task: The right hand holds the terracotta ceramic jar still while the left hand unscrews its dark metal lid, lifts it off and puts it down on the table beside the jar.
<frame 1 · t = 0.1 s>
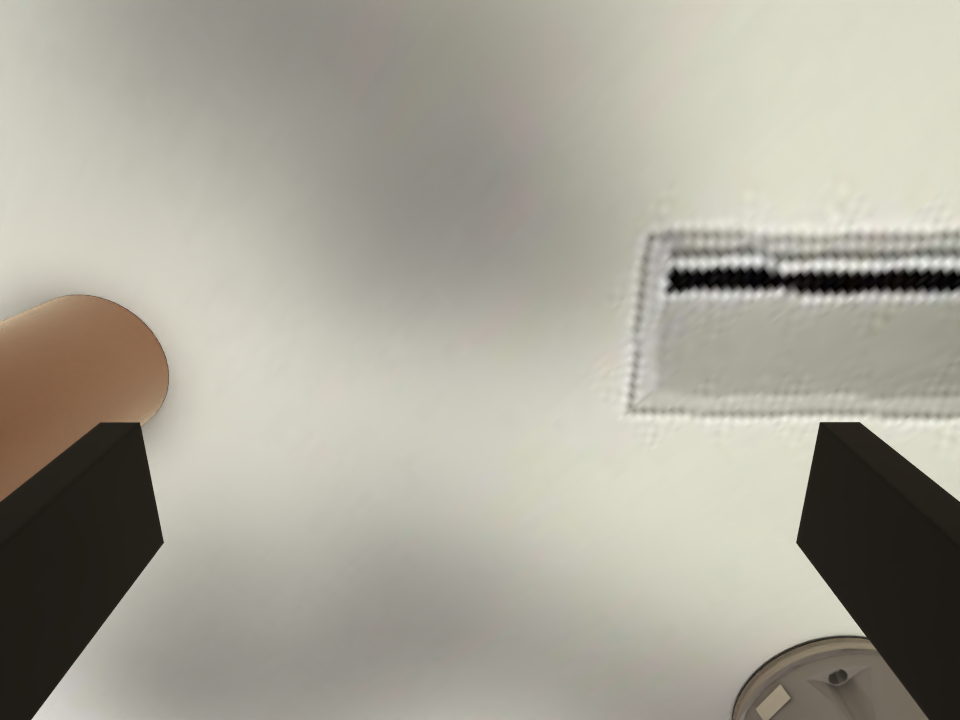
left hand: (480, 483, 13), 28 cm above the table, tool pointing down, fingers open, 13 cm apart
jar: (94, 366, 42), on the table
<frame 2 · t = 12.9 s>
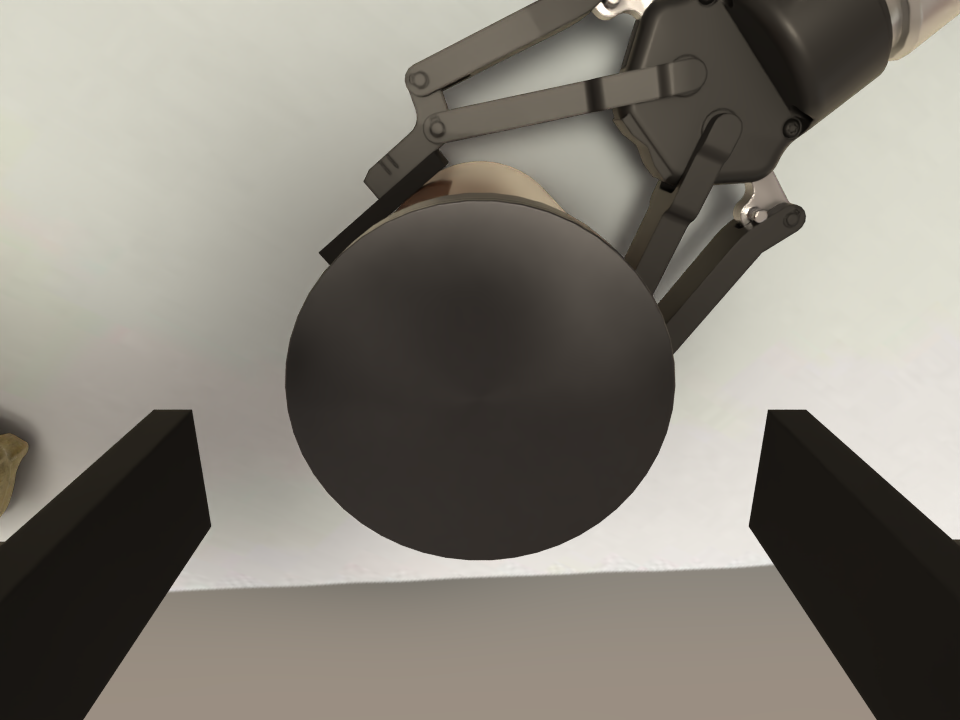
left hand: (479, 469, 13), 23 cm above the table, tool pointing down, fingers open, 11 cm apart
right hand: (407, 336, 31), fingers closed on jar, 9 cm apart
lid: (480, 393, 17), point 20 cm above the table, screwed on, not yet turned
jar: (480, 252, 35), on the table, touching right hand
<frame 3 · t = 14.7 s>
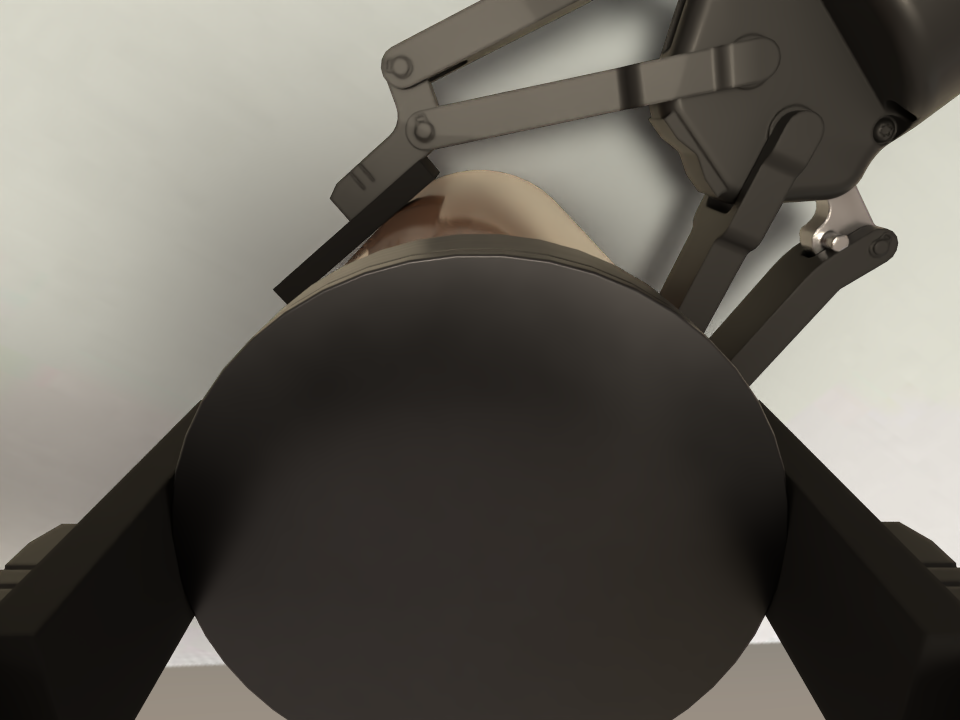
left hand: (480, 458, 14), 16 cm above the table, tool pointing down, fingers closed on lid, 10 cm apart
right hand: (388, 390, 25), fingers closed on jar, 9 cm apart
lid: (480, 544, 11), point 20 cm above the table, screwed on, not yet turned, touching left hand
jar: (479, 279, 29), on the table, touching right hand
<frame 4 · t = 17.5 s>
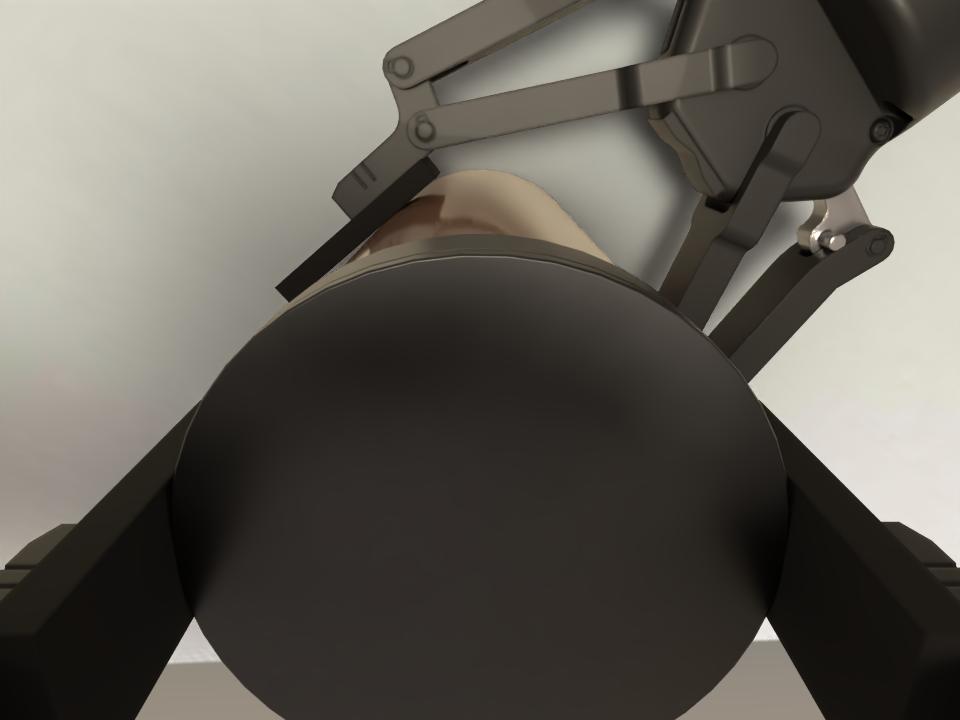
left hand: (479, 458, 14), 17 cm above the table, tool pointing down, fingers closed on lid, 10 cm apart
right hand: (389, 388, 25), fingers closed on jar, 9 cm apart
lid: (480, 545, 11), point 20 cm above the table, turned 82° so far, risen 0.2 cm, still on its thread, touching left hand
jar: (479, 278, 30), on the table, touching right hand
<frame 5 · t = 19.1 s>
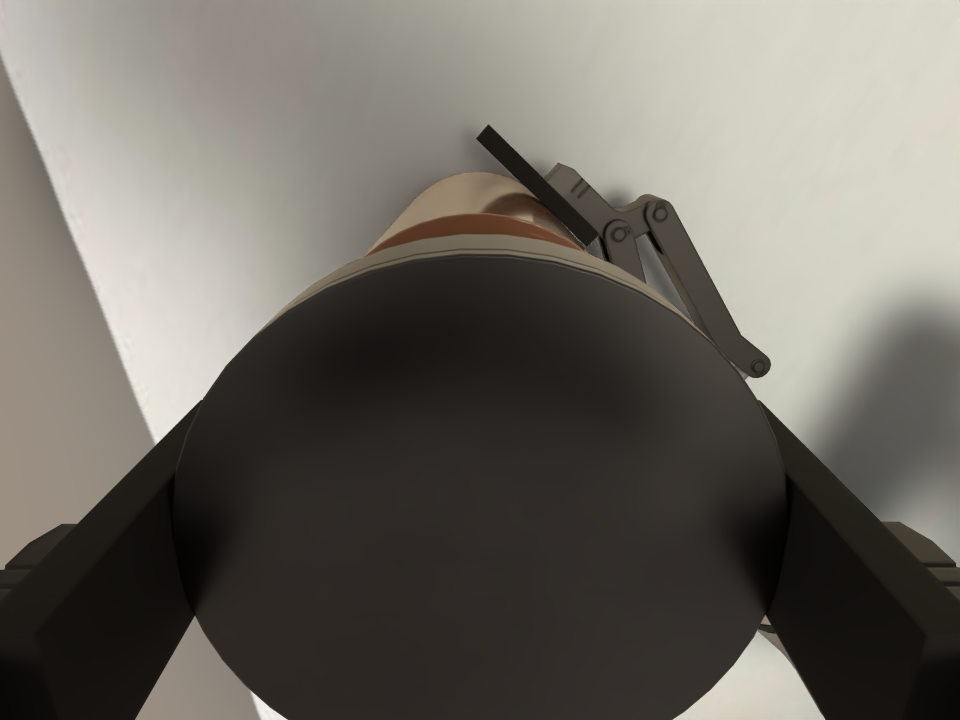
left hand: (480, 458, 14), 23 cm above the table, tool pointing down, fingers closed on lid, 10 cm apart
lid: (480, 544, 11), point 26 cm above the table, off its thread, touching left hand
jar: (477, 261, 36), on the table, touching right hand
when the left hand's fingers open (0 cm above the table, at t = 24.3 s): lid drops 2 cm, point 1 cm above the table.
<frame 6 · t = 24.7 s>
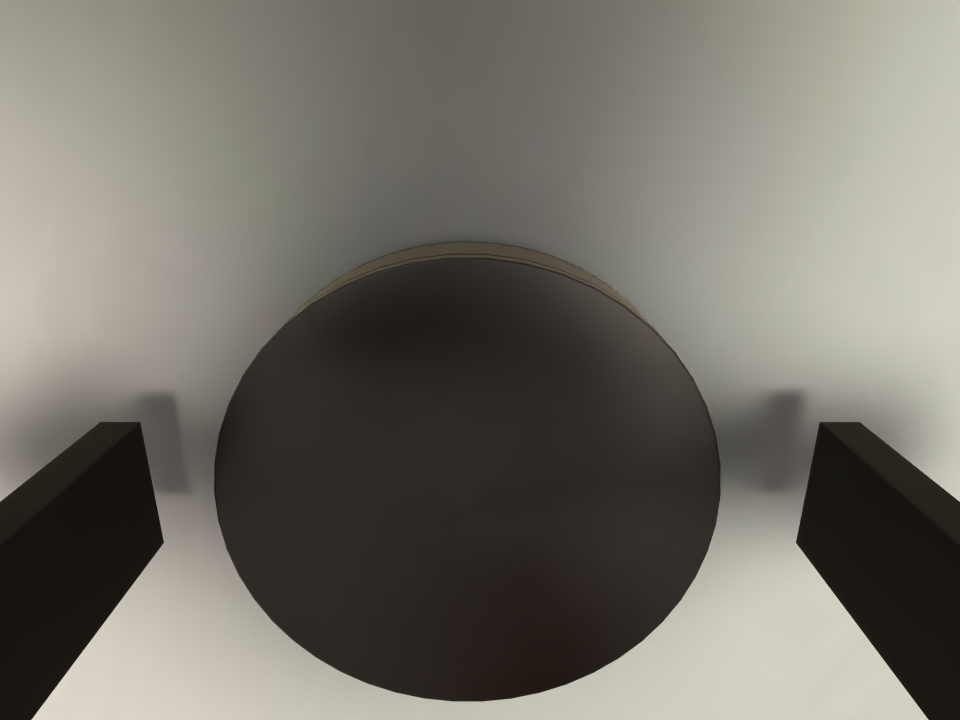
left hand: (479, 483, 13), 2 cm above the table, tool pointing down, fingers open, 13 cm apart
lid: (468, 499, 13), point 1 cm above the table, off its thread
when the right hand's fingers open (6 cm above the table, at t = 25.3 s): jar stays where it is, on the table.
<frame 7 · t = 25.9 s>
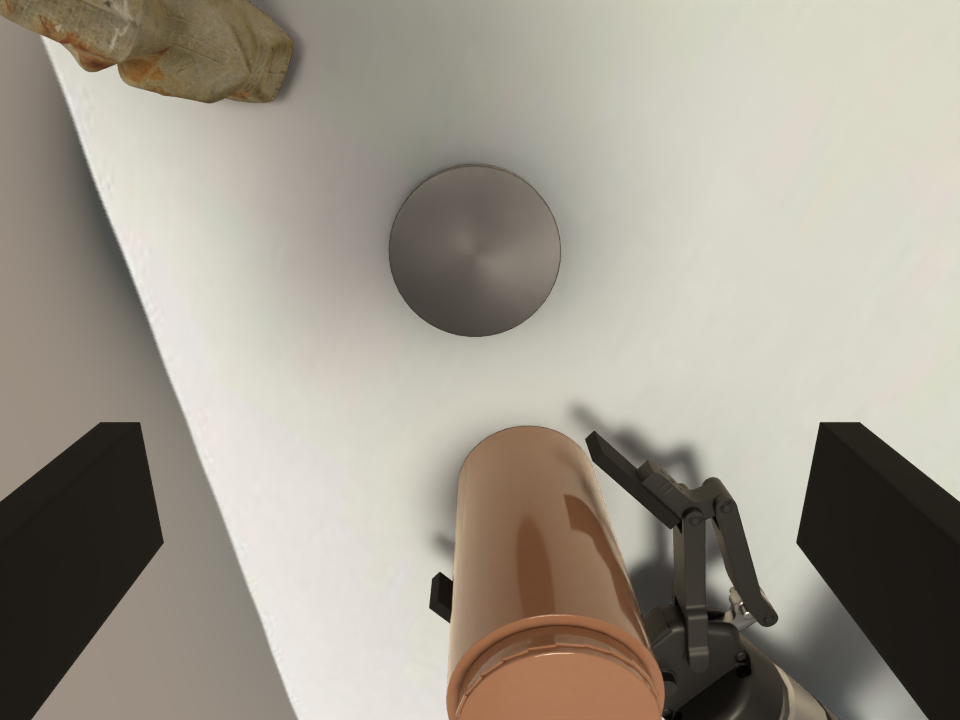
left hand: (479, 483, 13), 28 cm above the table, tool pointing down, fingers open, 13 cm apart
right hand: (510, 519, 39), fingers open, 13 cm apart
lid: (474, 254, 38), point 1 cm above the table, off its thread
jar: (526, 487, 45), on the table
sculpture: (238, 47, 36), on the table
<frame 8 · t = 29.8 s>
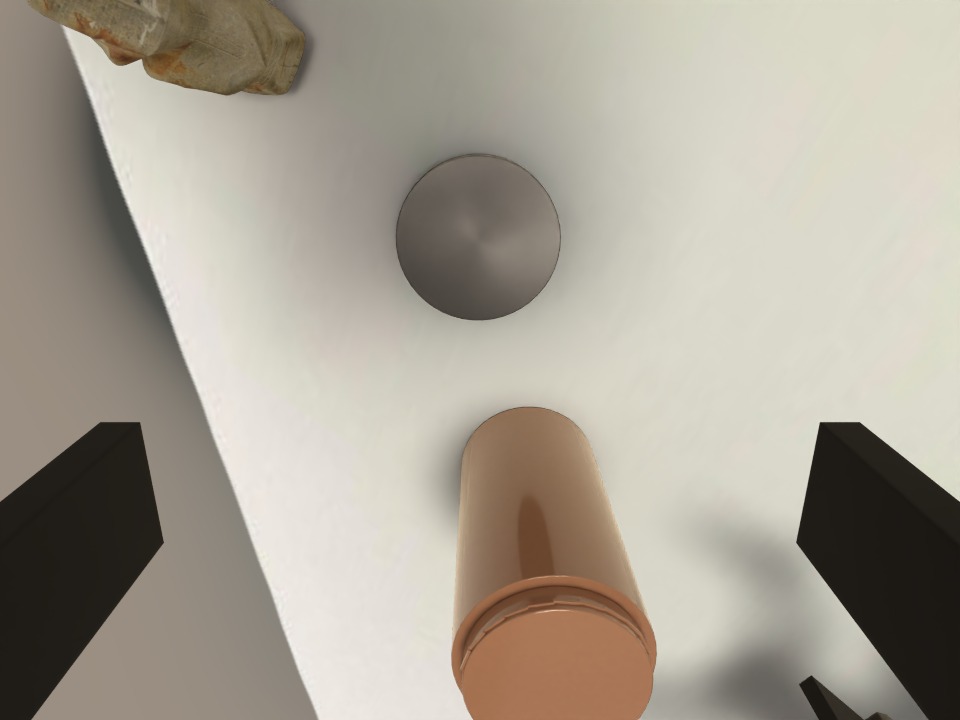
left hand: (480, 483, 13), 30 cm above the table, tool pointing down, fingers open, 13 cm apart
lid: (478, 240, 40), point 1 cm above the table, off its thread
jar: (527, 467, 47), on the table
sculpture: (252, 42, 37), on the table
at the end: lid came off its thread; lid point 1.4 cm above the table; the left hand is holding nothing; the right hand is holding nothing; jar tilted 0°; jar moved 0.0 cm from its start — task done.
